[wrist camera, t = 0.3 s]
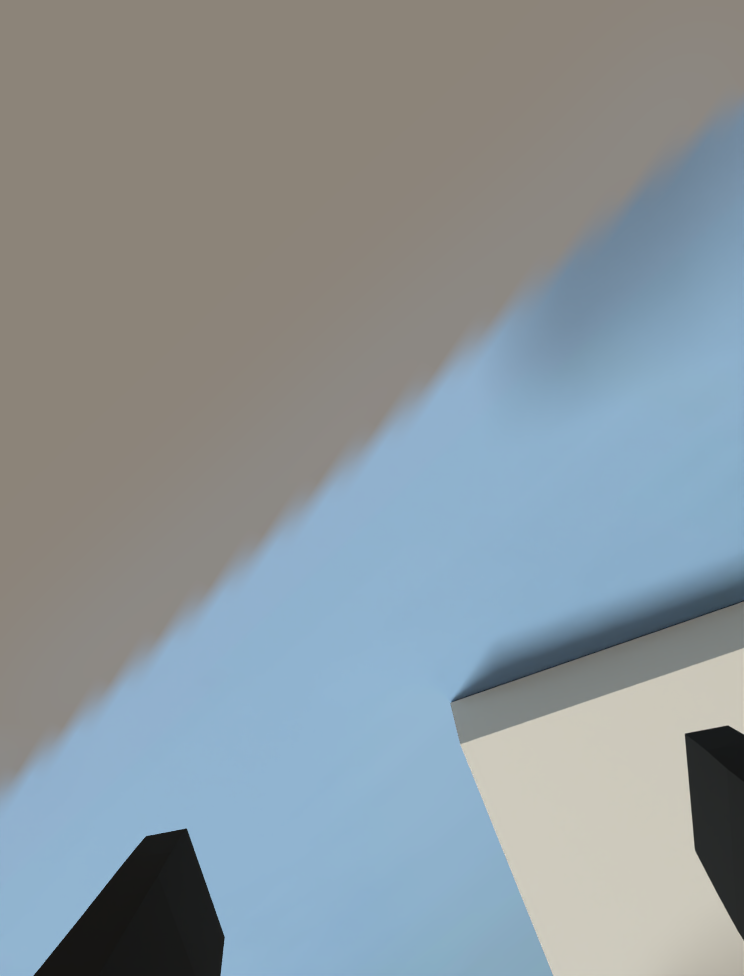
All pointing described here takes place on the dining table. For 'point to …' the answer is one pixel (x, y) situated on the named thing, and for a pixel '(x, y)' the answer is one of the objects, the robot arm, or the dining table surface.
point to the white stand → (612, 798)
